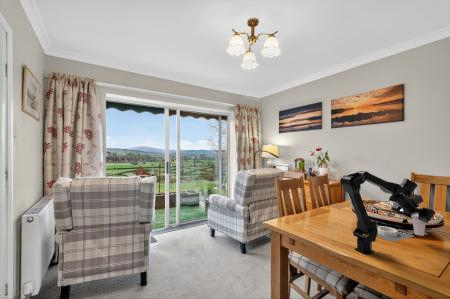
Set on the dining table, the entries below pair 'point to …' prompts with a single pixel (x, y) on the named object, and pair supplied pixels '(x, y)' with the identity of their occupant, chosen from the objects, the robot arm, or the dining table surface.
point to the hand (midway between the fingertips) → (421, 220)
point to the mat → (393, 239)
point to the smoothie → (418, 225)
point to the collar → (387, 231)
